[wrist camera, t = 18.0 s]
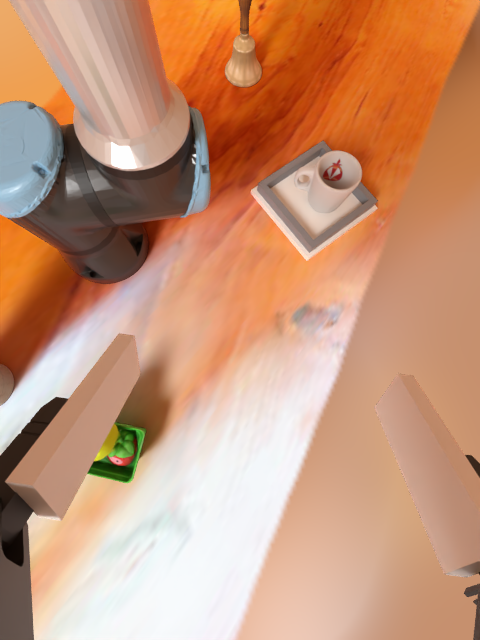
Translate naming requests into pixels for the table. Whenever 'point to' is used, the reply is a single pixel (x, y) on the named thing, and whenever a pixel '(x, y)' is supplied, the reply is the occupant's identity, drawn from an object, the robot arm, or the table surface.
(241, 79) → the hand bell
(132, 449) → the fruit basket
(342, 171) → the cup
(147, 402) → the table surface
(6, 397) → the thermos bottle
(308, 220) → the gray rimmed square tray
